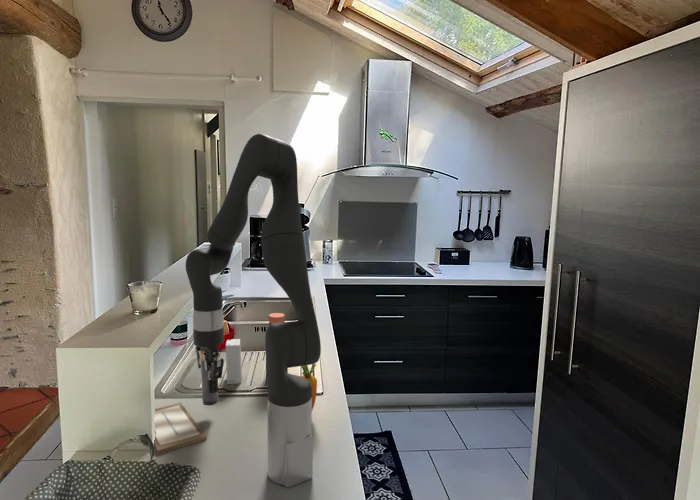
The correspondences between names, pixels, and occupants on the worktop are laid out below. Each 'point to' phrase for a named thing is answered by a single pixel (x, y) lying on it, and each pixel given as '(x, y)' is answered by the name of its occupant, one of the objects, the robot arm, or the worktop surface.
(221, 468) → the worktop surface
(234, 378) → the skincare box
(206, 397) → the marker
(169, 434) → the writing board
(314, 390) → the carrot
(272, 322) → the bottle
